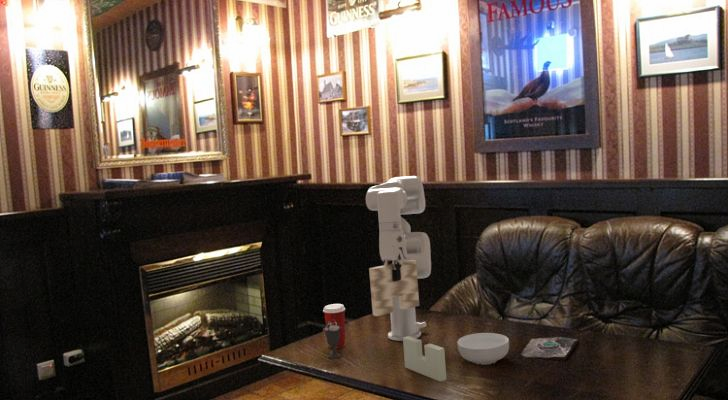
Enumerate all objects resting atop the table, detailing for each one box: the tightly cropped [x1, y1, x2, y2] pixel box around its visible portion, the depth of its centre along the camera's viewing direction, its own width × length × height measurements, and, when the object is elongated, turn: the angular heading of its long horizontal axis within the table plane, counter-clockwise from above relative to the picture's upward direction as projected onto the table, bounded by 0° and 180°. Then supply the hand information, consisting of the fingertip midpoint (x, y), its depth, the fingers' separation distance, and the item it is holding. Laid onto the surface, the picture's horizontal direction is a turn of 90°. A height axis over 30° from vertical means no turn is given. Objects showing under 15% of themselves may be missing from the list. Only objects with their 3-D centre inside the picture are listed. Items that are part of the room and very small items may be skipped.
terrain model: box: [520, 336, 579, 362], centre depth 223 cm, size 20×15×3 cm
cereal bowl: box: [456, 332, 510, 366], centre depth 216 cm, size 17×17×7 cm
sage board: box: [402, 336, 447, 382], centre depth 209 cm, size 2×18×10 cm, turn 34°
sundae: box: [322, 316, 342, 360], centre depth 232 cm, size 7×7×15 cm
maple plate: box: [368, 260, 420, 317], centre depth 225 cm, size 18×2×16 cm, turn 123°
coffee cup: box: [322, 303, 346, 349], centre depth 244 cm, size 8×8×15 cm
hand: (394, 279), depth 224 cm, fingers closed on maple plate, 2 cm apart
